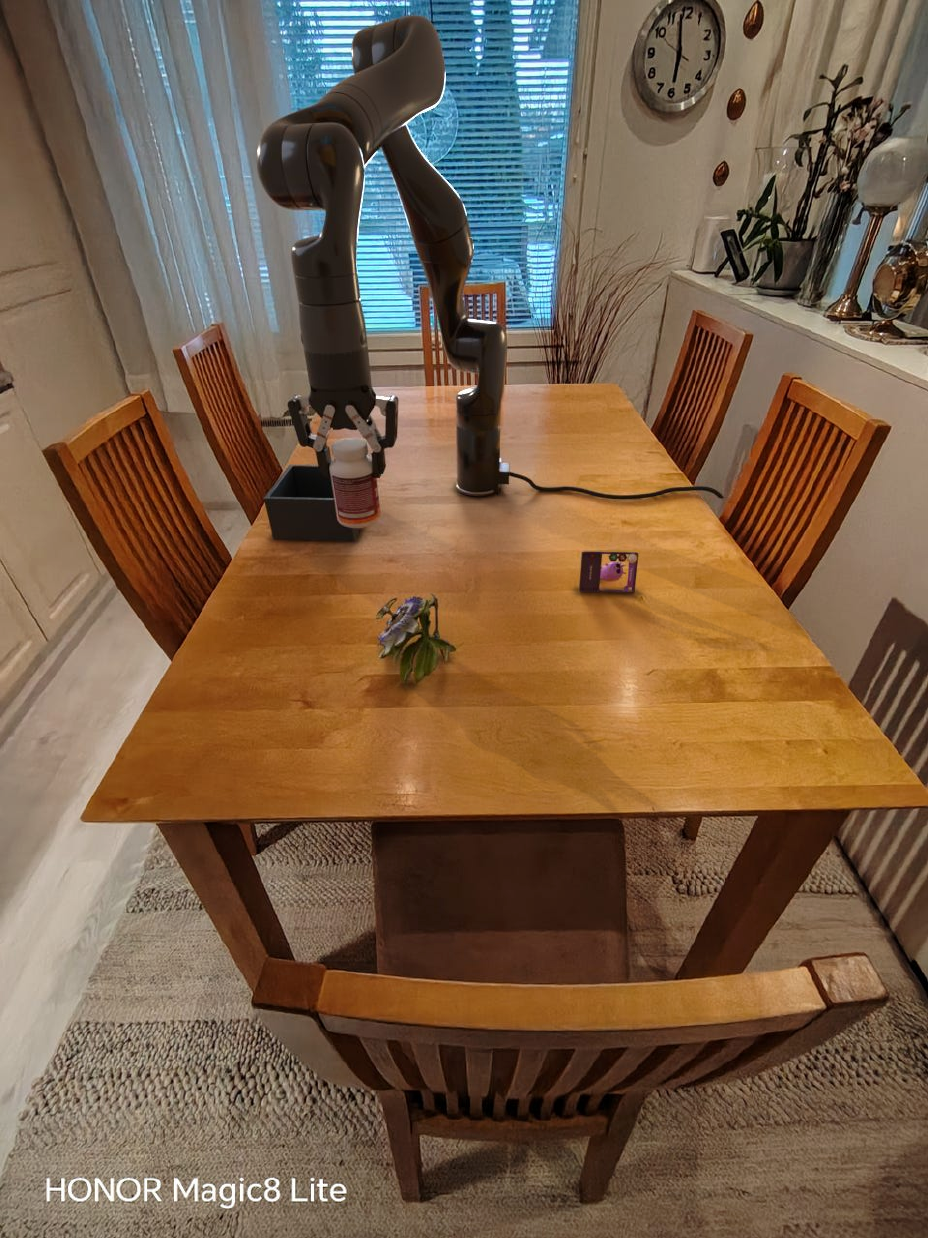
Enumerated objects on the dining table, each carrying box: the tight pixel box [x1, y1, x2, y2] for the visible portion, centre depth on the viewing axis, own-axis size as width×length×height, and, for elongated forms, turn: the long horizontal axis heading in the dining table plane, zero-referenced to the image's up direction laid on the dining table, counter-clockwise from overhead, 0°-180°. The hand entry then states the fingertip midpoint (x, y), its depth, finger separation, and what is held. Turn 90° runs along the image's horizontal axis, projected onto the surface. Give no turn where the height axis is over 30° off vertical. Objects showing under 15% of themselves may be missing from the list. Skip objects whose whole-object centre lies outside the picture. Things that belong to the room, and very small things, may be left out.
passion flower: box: [375, 593, 457, 686], centre depth 82 cm, size 11×11×12 cm
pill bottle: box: [329, 437, 382, 529], centre depth 81 cm, size 6×6×11 cm
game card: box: [578, 550, 639, 594], centre depth 97 cm, size 7×5×9 cm
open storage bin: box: [263, 464, 361, 543], centre depth 115 cm, size 16×16×8 cm
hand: (353, 475), depth 80 cm, fingers closed on pill bottle, 6 cm apart
